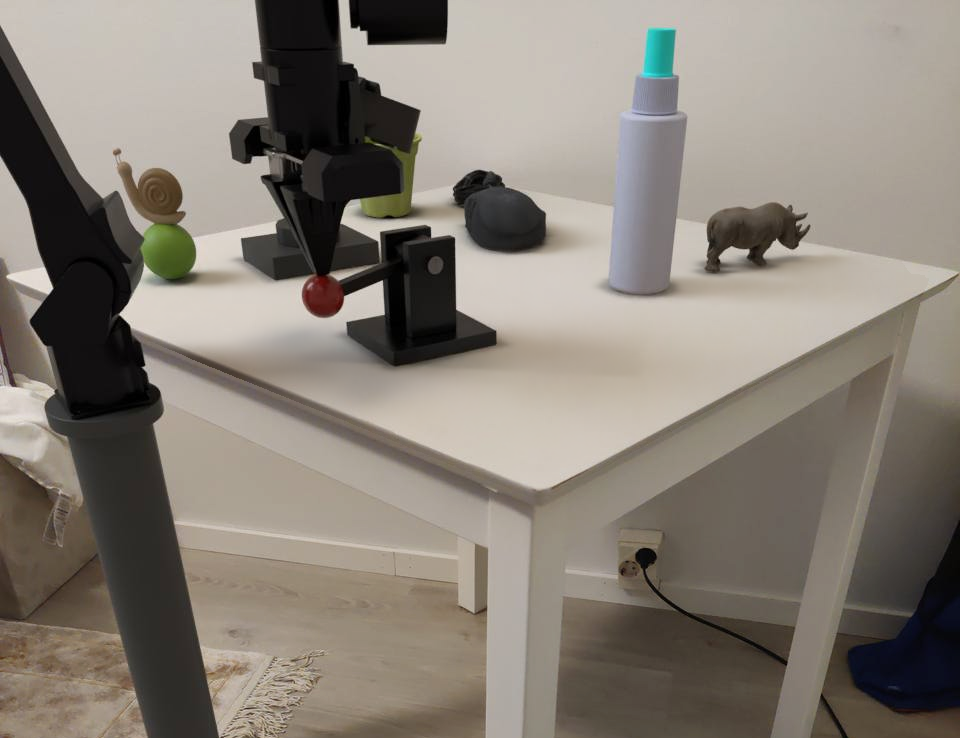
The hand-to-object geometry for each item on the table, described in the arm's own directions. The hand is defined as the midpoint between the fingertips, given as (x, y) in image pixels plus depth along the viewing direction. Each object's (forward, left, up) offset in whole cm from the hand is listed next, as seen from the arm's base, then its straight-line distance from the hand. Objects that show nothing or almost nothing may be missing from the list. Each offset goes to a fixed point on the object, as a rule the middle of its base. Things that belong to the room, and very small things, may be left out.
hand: (321, 274), depth 78 cm
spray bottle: (+35, +2, -7) cm, 36 cm away
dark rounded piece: (+38, +33, -7) cm, 51 cm away
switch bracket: (+9, 0, -7) cm, 11 cm away
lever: (+4, 0, -3) cm, 5 cm away
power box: (+11, +28, -7) cm, 31 cm away
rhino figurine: (+51, +2, -7) cm, 51 cm away
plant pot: (+28, +43, -7) cm, 52 cm away
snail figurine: (-4, +30, -7) cm, 31 cm away
